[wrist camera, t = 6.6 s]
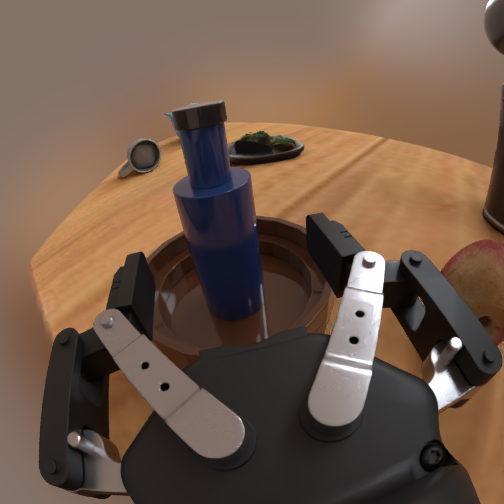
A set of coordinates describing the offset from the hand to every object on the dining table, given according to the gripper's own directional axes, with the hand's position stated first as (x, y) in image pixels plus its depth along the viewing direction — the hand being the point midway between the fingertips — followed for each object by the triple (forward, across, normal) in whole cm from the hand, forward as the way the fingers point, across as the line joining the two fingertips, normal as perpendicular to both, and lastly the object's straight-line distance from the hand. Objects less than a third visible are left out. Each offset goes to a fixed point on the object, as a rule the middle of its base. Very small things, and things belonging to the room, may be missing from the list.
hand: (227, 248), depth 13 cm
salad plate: (+46, -12, +10) cm, 49 cm away
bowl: (+5, 0, +9) cm, 11 cm away
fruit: (-5, -16, +9) cm, 19 cm away
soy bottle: (+5, 0, +8) cm, 10 cm away
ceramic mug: (+53, +15, +10) cm, 56 cm away
